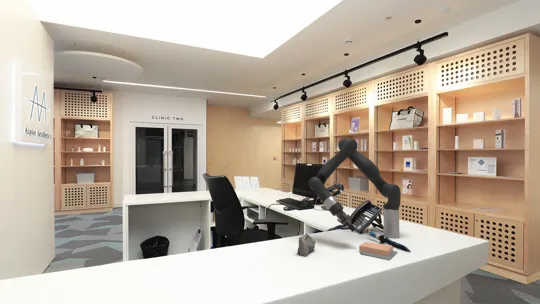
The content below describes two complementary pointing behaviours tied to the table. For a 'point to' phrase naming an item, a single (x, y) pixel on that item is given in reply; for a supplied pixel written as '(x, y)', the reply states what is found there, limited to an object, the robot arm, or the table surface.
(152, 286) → the table surface
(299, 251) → the mineral rock
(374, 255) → the slate mat
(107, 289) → the table surface
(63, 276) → the table surface
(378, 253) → the tile
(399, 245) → the knife
